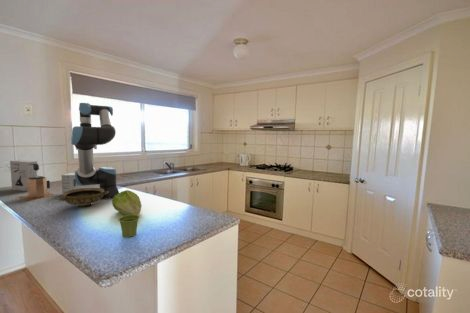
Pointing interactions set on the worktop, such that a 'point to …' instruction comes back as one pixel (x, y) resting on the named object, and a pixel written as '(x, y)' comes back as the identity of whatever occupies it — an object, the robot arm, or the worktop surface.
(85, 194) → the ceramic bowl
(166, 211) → the worktop surface
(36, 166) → the plunger
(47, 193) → the trivet
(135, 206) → the lettuce
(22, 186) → the cereal box
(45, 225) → the worktop surface
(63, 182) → the supplement box
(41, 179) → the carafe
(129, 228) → the plant pot
